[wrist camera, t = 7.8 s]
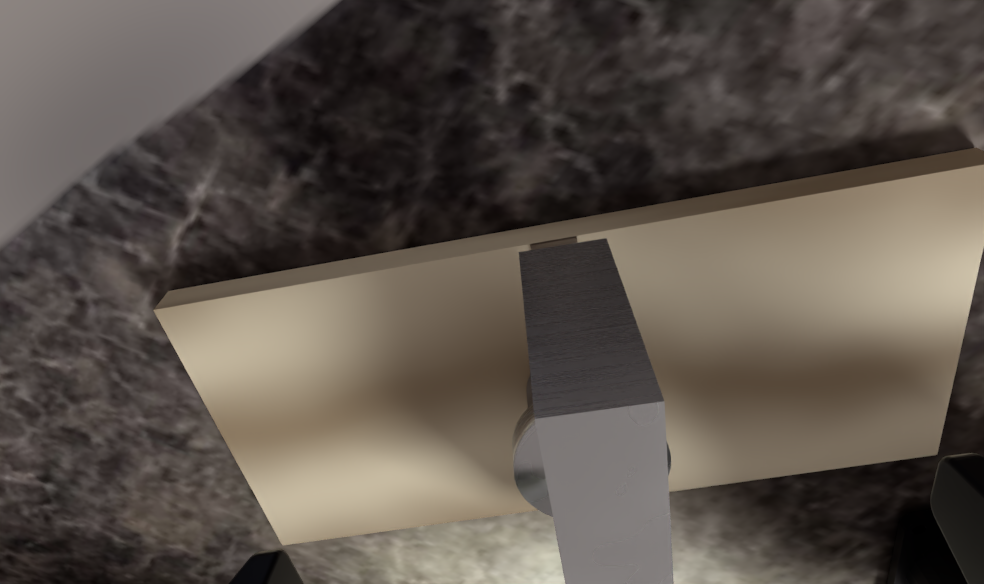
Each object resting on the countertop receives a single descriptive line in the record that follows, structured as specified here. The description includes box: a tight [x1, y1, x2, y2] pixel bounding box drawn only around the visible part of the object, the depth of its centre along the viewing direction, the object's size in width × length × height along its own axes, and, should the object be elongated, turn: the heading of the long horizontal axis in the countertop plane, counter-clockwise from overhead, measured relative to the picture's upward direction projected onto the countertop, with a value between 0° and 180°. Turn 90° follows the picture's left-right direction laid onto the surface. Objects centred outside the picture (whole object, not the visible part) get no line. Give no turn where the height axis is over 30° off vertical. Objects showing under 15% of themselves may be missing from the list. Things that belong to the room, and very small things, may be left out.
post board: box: [153, 148, 984, 545], centre depth 19 cm, size 10×22×3 cm, turn 101°
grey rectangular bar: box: [512, 238, 673, 584], centre depth 15 cm, size 4×13×7 cm, turn 10°
